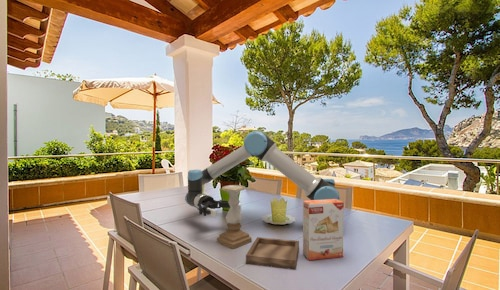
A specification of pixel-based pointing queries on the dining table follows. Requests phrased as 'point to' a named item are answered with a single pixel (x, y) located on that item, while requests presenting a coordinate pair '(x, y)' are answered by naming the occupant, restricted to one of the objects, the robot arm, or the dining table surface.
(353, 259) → the dining table surface
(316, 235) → the cracker box
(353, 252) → the dining table surface
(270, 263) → the tray
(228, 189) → the candle holder
